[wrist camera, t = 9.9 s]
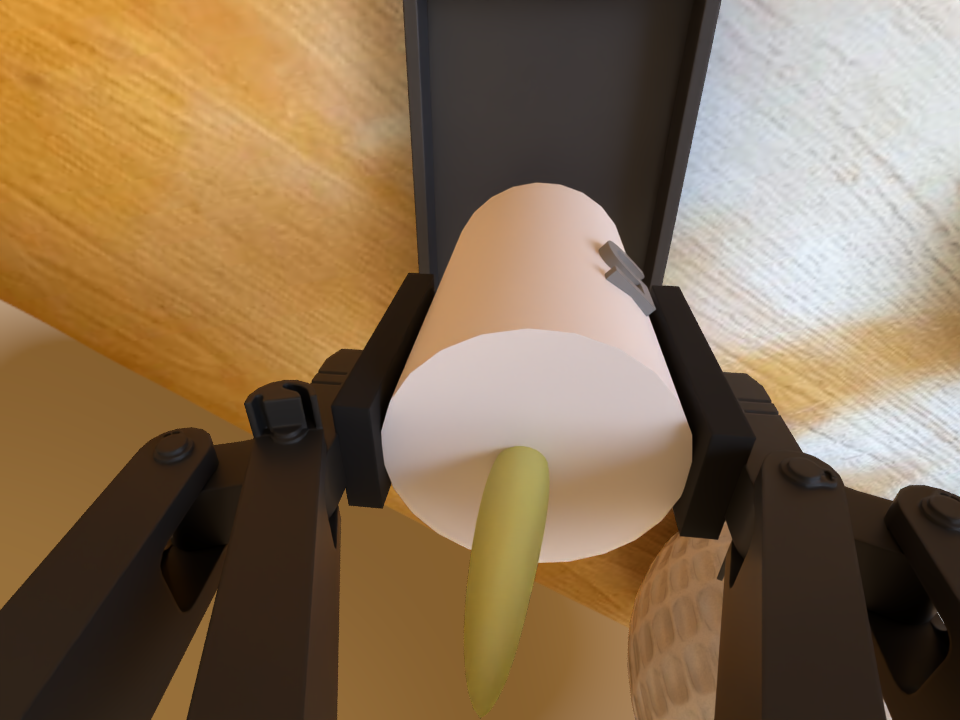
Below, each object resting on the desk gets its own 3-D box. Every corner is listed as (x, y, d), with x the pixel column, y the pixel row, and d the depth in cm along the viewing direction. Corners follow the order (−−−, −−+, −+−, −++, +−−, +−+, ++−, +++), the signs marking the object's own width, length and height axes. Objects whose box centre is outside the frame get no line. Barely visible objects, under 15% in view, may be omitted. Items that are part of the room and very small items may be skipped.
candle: (665, 261, 19) (911, 724, 6) (539, 368, 22) (531, 828, 9) (540, 136, 17) (526, 429, 4) (421, 272, 20) (211, 677, 7)
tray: (414, -32, 22) (399, -38, 20) (712, -33, 21) (730, -40, 19) (433, 354, 32) (424, 377, 30) (633, 367, 31) (640, 392, 29)
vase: (714, 632, 44) (838, 1080, 25) (567, 543, 40) (582, 992, 21) (903, 539, 36) (1288, 1090, 17) (741, 417, 32) (1009, 953, 13)
